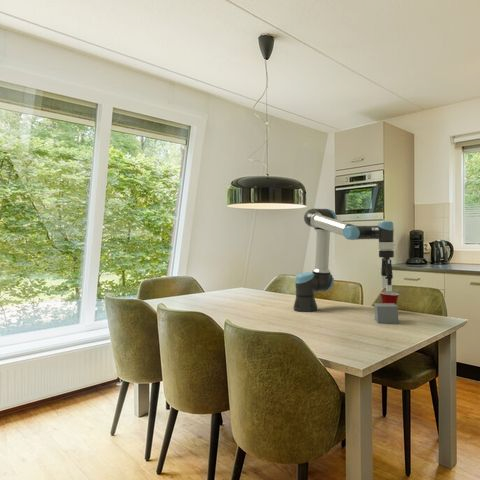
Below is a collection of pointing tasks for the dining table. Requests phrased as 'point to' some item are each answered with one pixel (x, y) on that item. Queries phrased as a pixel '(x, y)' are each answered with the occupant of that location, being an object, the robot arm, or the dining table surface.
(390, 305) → the trap cup
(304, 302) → the robot arm
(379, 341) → the dining table surface
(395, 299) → the plastic cup
